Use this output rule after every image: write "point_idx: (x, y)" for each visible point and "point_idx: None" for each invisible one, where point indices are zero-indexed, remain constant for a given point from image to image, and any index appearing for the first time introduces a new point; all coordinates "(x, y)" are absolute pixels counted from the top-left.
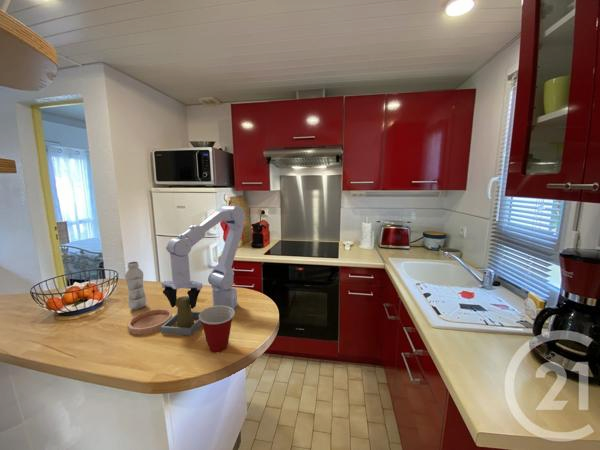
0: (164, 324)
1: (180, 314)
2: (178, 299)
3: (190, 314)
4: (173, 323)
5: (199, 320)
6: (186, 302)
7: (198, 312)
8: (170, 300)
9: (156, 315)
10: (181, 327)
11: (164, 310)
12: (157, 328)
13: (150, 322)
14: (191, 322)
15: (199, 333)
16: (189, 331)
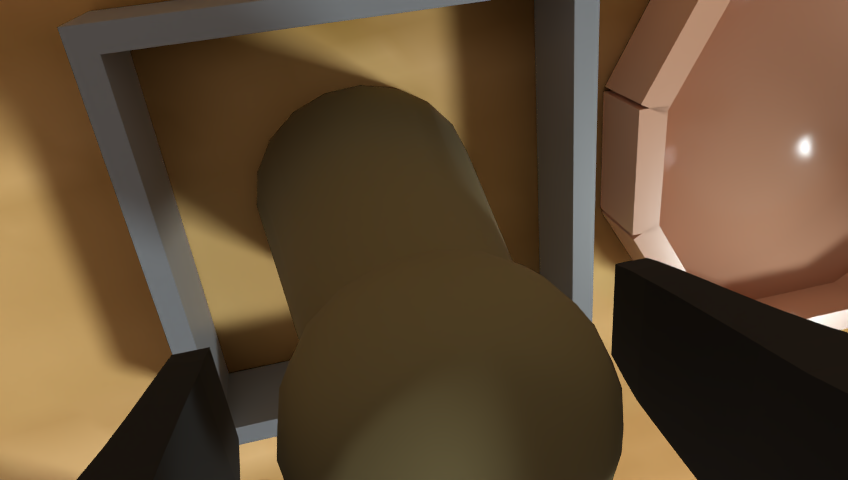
0: (587, 31)
1: (394, 196)
2: (560, 419)
3: (284, 291)
4: (541, 174)
5: (146, 276)
6: (302, 415)
7: None
8: (748, 326)
9: (830, 238)
10: (260, 31)
11: None
12: (663, 6)
13: (824, 105)
14: (264, 221)
15: (16, 95)
16: (95, 18)
